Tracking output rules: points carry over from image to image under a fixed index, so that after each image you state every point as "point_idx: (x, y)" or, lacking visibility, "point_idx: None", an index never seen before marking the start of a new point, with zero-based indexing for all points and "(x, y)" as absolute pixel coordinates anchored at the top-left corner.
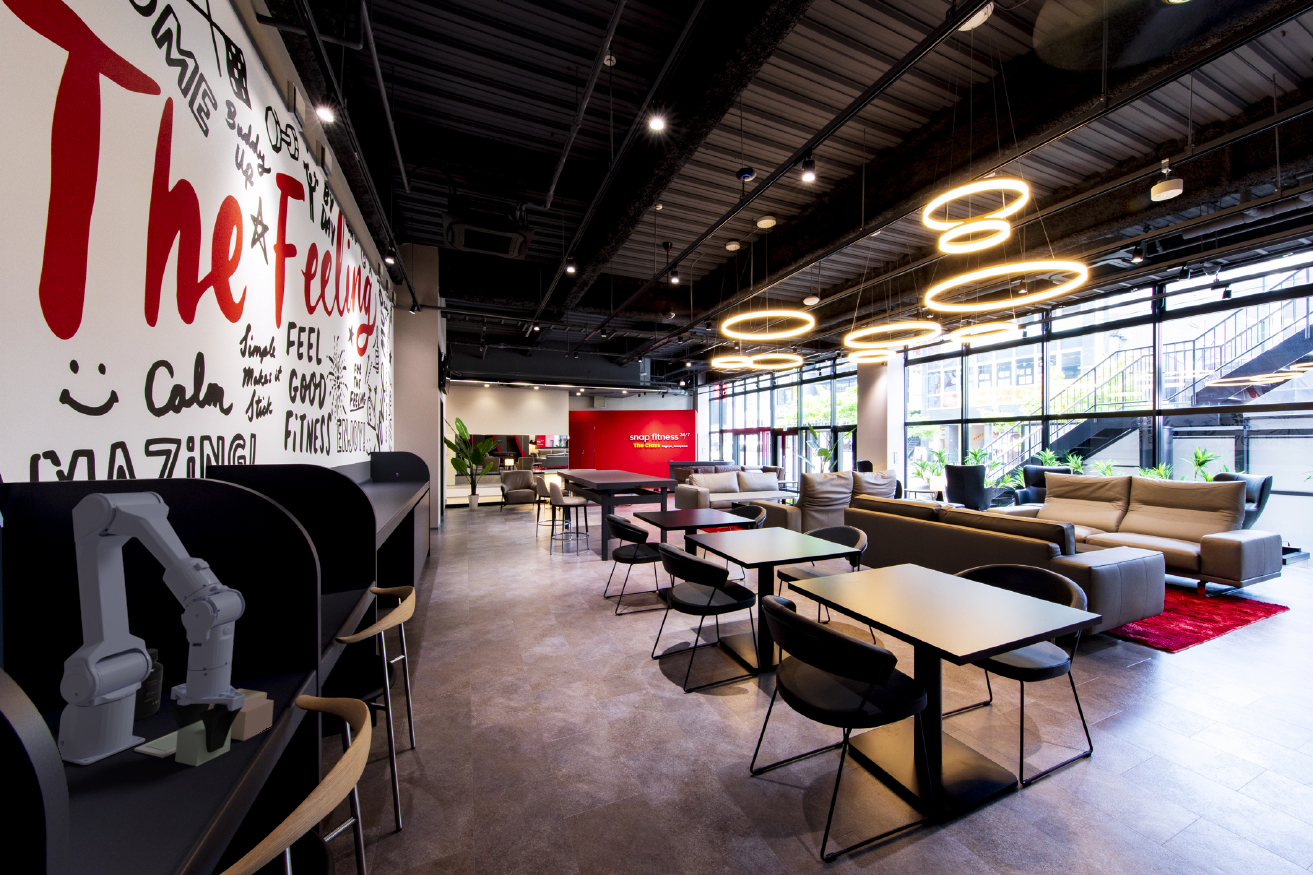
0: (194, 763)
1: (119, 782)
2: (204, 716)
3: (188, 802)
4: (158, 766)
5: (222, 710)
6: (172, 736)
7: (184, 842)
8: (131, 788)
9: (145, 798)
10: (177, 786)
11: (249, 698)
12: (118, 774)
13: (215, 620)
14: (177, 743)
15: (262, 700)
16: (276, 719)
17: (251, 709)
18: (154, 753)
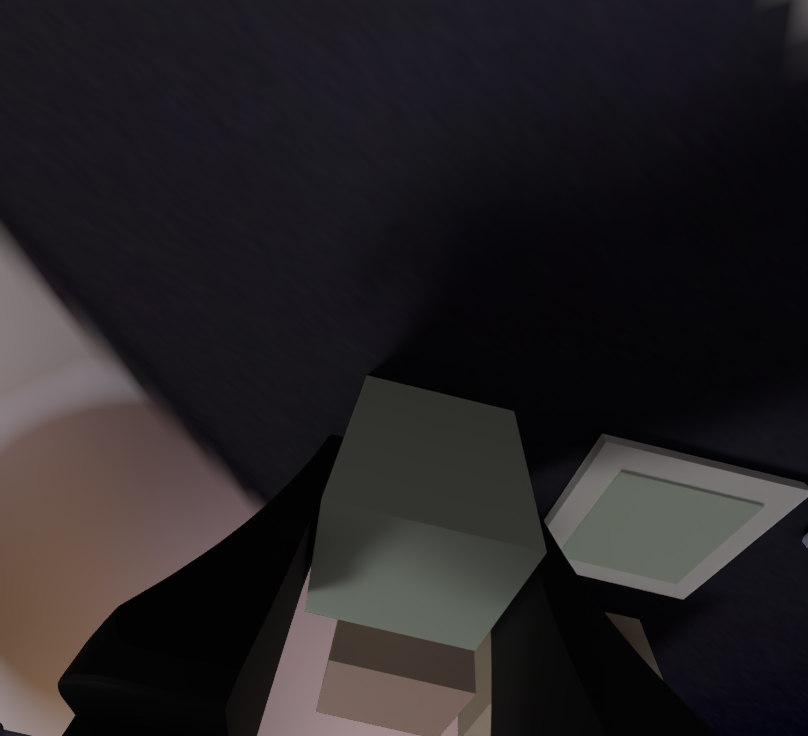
0: (381, 385)
1: (664, 215)
2: (162, 653)
3: (27, 43)
4: (558, 369)
5: (78, 711)
6: (681, 558)
7: None
8: (527, 158)
9: (328, 52)
10: (273, 203)
11: (490, 724)
12: (736, 294)
13: None
14: (521, 474)
15: (364, 716)
16: None
17: (329, 673)
18: (666, 455)
